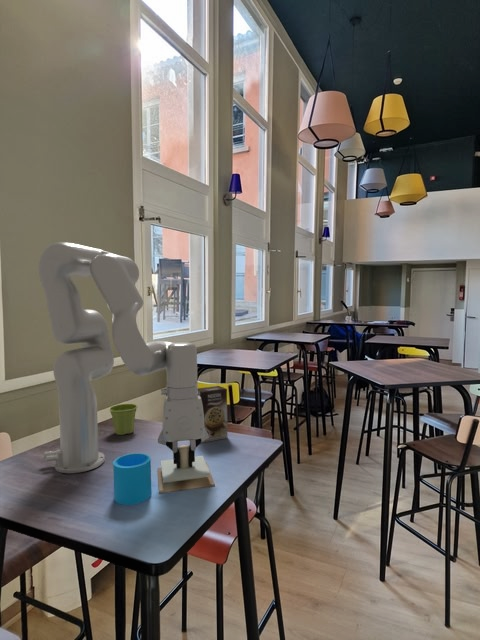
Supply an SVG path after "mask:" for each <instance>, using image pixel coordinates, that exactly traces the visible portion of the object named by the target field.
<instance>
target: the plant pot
mask: <svg viewBox="0 0 480 640" xmlns="http://www.w3.org/2000/svg"><path fill="white" fill-rule="evenodd" d="M137 409H138V404H136V403H122V404H116V405H112V406H110V407H109V408H108V410H109V412H110V415H111V418H112V425H113V429H114V434H116V435H121V436H123V435H126V434H131V433H133V432H134V429H135V419H136V412H137Z"/></svg>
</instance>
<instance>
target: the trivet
mask: <svg viewBox="0 0 480 640" xmlns="http://www.w3.org/2000/svg"><path fill="white" fill-rule="evenodd" d="M205 463H206V465H207V467H208V470H209V472H210V477H203V478H195V479H188V480H180V481H173V482H166V483H163V477H162V470H161V467H157V482H158V494H164V493H170V492H171V493H172V492H181V491H187V490H194V489H201V488H208V487H209V488H210V487H215V486H216V483H215V481H214V478H213V475H212V472H211V470H210V468H209V464H208V462H206V461H205Z"/></svg>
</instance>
